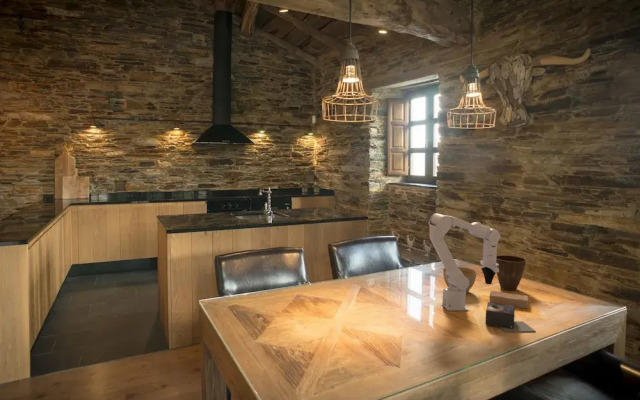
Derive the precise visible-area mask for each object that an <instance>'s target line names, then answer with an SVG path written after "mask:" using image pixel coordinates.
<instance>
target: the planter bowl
mask: <svg viewBox="0 0 640 400" xmlns="http://www.w3.org/2000/svg"><path fill="white" fill-rule="evenodd" d="M457 267H458V268H459V270H460V271H461V272H462V273H463V275H464V276H465V277H466V278H468V280H469V286H468V288H467V289H466V294H468V293H470V290H471V289H472V287H473V286H474V284H475V283H476V278H477V274H478V273H477V271H476V270H475V269H473V268H469V267H465V266H464V267H463V266H457ZM442 272H443V280H444V282H445V284H446V286H447V288H449V283H448V282H447V276H446V274H445V272H446V269H445V267H444V268H442Z"/></svg>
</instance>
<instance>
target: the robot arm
mask: <svg viewBox="0 0 640 400" xmlns="http://www.w3.org/2000/svg"><path fill="white" fill-rule="evenodd" d="M427 223H428V225H429V236H428V237H429V239H430V242H431V243H432V246H433V249H435V252H436V253H437V256H438V257H439V260H440V261H441V263H442V266H443V267H444V268H445V269H446V272H445V274H446V276H447V282H448V283H449V288H448V287H447V288H443V290H442V303H441V305H442V307H444V308H445V310H446V311H449V312H450V311H451V312H452V311H453V312H454V311H456V312H457V311H458V312H459V311H461V312H462V311H469V308H468V307H466V296H467V295H466V294H467V293H466V289H467V288H468V286H469V280H468V278H466V277H465V276H464V275H463V273H462V272H461V271H460V270H459V268H458V267H459V266H458V265H457V262H456V261H455V259H454V257H453V255H452V253H451V251H450V249H449V247H448V245H447V243H446V242H445V239H444V237H445V235H446V234H447V233H448V231H449V230H450V229H451V228H455V227H458V228H462V229H463V230H467V231H468V233H469V234H470V235H472V236H474V237H476V238H477V237H478V238H480V239H483V242H482V243H483V245H482V246H483V247H482V248H483V249H482V259H480V261H479V262H480V263H479V265H482V266H483V267H481V269H480V270H481V271H482V273H483V278H484V282H485V284H486V285H492V282H493V280H494V277H495V275H497V272H499V268H498V267H497V266H499V264H497V263H496V257H497V256H498V255H497V254H498V253H497V252H498V242H499V240H500V239H501V237H502V236H501V234H500V232H499V230H498V229H496V228H492V227H491V226H489V225H485V224H482V223H481V222H479V221H474V222H471V223H470V222H468V221H465V220H463V219H461V218H458V217H455V216H451V215H446V214H441V213H437V212H435V213H433V214H432V215H431V216H430V218H429V220H428V222H427Z"/></svg>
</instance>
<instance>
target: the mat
mask: <svg viewBox="0 0 640 400" xmlns="http://www.w3.org/2000/svg"><path fill="white" fill-rule="evenodd" d="M499 328H500V330H502V331H503V332H504V333H536V330H535V329H534V328H532V326H530V325H528V324H527V323H525V322H524V321H523V320H522V321H520V320H519V321H515V320H514V329H510V328H504V327H499Z"/></svg>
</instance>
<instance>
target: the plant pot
mask: <svg viewBox="0 0 640 400" xmlns="http://www.w3.org/2000/svg"><path fill="white" fill-rule="evenodd" d="M526 262H527V259H526V258H523V257H520V256H516V255H508V254H507V255H506V254H502V255H500V254H499V255H497V257H496V263H497V264H499V266H497V267H498V268H499V272H496V277H497V279H498V280H497V281H498V283H499V287H500V288H501V289H502V290H504V291H513V292H514V291H516V290H517V289H518V287H519V286H520V285H519V284H520V282H521V281H522V278H523V274H524V271H525V267H526V265H527V263H526Z"/></svg>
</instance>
